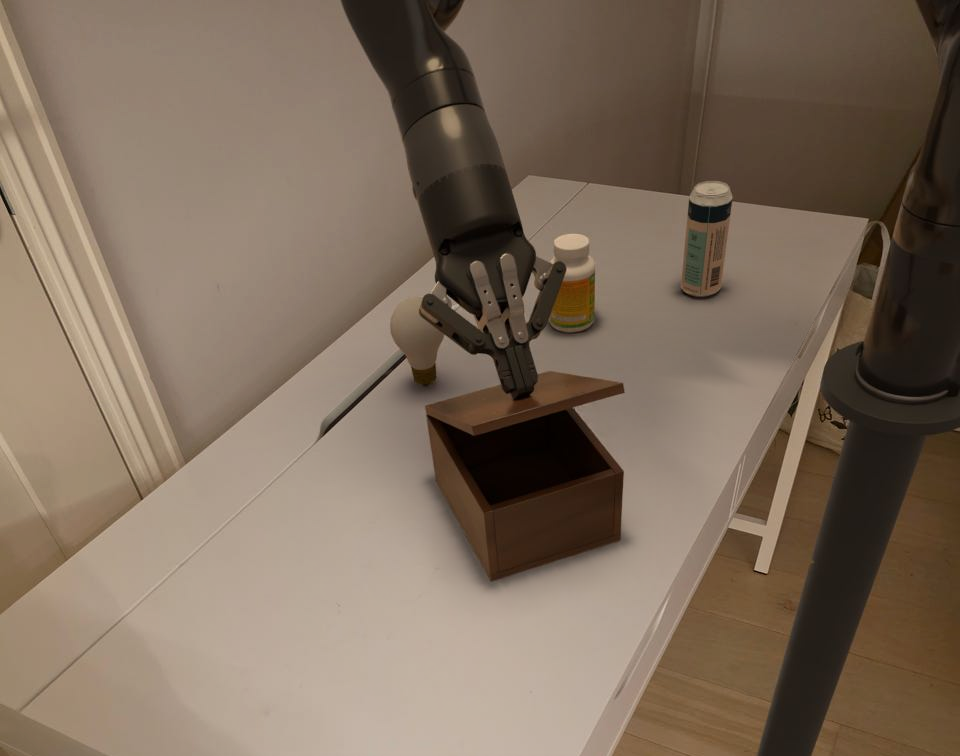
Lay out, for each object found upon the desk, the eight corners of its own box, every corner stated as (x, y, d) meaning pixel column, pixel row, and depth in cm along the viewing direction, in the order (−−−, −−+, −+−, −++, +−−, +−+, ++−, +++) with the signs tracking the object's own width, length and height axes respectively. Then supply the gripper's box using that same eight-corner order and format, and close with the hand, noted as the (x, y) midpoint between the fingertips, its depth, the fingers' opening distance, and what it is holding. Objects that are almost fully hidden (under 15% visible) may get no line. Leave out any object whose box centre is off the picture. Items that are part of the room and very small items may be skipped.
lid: (624, 392, 68) (623, 382, 68) (474, 436, 66) (471, 425, 66) (551, 379, 83) (549, 370, 83) (426, 414, 81) (424, 405, 81)
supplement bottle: (597, 331, 103) (599, 249, 96) (552, 336, 103) (550, 254, 96) (590, 308, 107) (591, 228, 100) (546, 313, 107) (544, 233, 100)
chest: (620, 540, 79) (624, 471, 73) (490, 581, 77) (483, 513, 71) (552, 446, 89) (550, 379, 83) (435, 480, 87) (425, 414, 81)
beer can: (721, 281, 109) (734, 179, 100) (719, 300, 106) (732, 197, 97) (682, 279, 110) (691, 179, 101) (678, 298, 107) (688, 196, 98)
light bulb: (404, 370, 101) (391, 287, 94) (455, 369, 100) (445, 285, 93) (396, 399, 97) (381, 315, 90) (448, 399, 96) (438, 313, 89)
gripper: (386, 180, 66) (455, 405, 67) (549, 144, 68) (612, 361, 69) (379, 225, 73) (441, 426, 75) (526, 190, 76) (583, 386, 77)
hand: (524, 394), depth 72 cm, fingers closed
